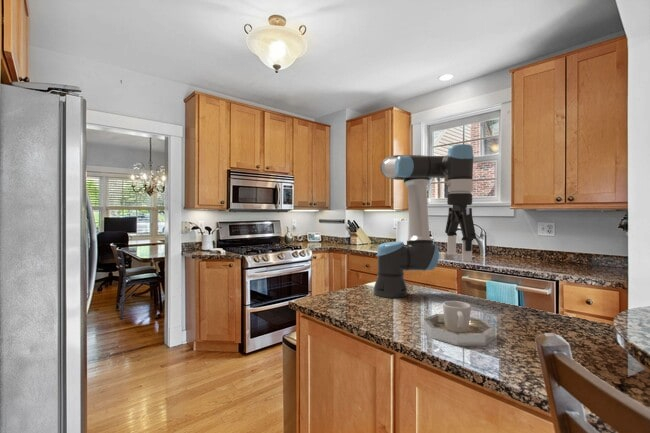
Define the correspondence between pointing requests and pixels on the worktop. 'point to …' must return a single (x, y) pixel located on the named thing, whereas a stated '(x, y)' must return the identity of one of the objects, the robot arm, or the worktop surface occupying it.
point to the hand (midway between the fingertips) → (458, 257)
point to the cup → (456, 316)
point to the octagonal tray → (474, 336)
